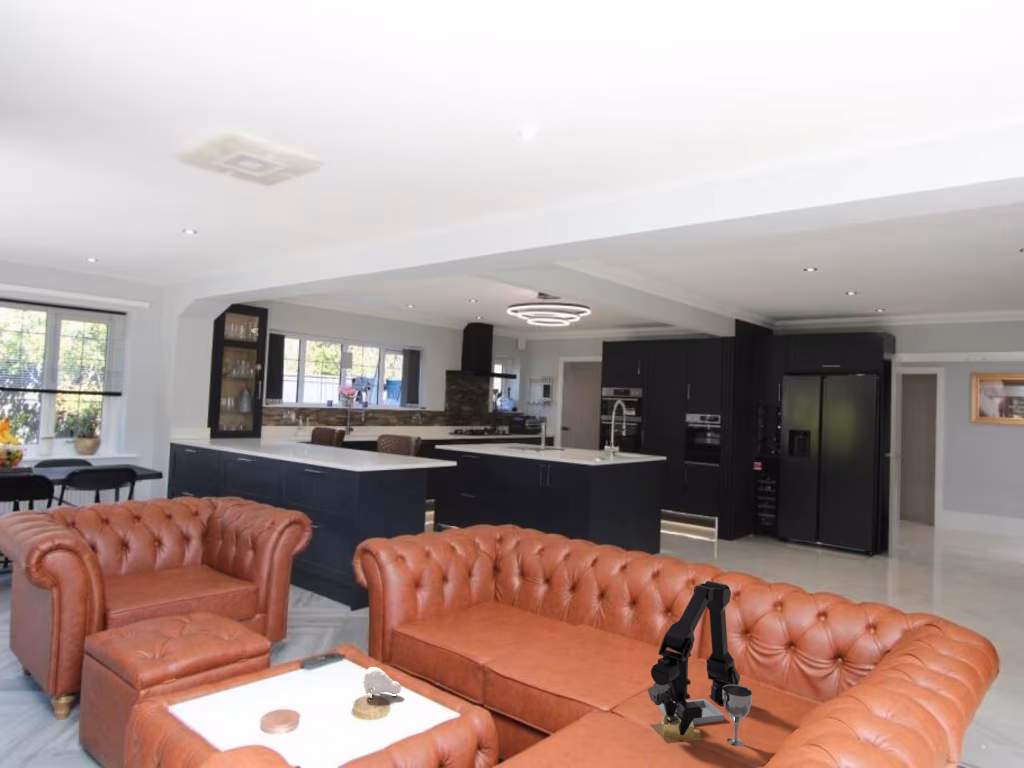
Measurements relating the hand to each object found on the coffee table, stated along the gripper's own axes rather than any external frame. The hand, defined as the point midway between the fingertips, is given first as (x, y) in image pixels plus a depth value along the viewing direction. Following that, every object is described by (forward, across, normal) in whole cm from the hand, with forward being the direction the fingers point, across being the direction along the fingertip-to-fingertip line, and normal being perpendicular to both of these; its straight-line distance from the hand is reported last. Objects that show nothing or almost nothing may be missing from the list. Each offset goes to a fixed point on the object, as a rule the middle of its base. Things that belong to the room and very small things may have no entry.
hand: (676, 729), depth 200 cm
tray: (+1, -9, +10) cm, 14 cm away
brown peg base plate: (+1, 0, 0) cm, 1 cm away
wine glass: (+2, +8, +14) cm, 17 cm away
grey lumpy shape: (+2, -42, -80) cm, 90 cm away
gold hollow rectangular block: (+1, 0, 0) cm, 1 cm away
